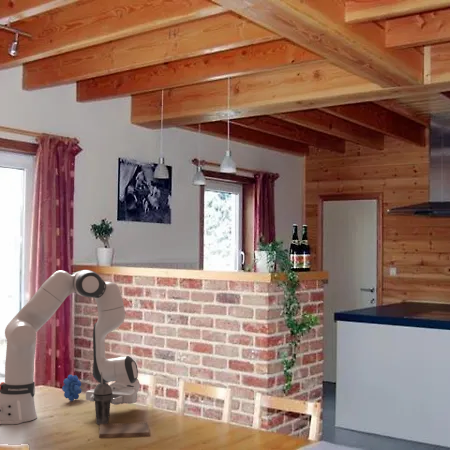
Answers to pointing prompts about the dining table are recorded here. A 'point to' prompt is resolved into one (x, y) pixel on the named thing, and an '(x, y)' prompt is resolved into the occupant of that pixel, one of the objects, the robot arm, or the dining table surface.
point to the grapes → (72, 387)
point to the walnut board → (123, 430)
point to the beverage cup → (102, 402)
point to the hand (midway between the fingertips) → (102, 400)
